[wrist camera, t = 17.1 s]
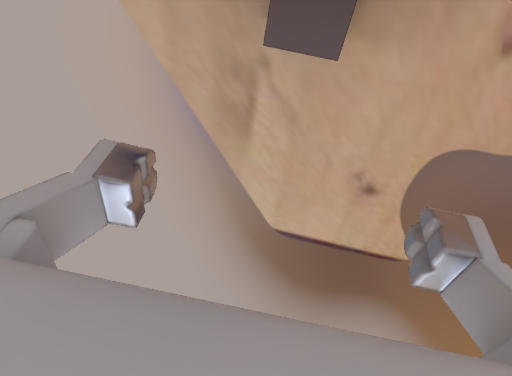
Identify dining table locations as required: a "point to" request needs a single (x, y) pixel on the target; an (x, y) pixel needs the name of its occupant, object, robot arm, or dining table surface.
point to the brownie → (309, 26)
